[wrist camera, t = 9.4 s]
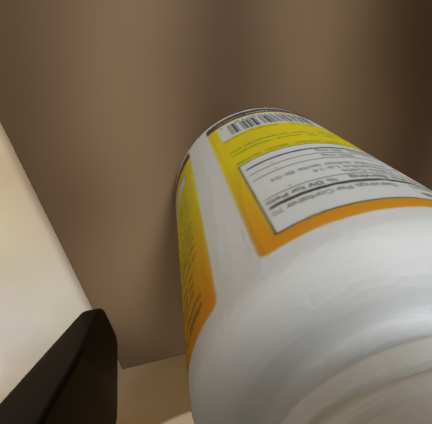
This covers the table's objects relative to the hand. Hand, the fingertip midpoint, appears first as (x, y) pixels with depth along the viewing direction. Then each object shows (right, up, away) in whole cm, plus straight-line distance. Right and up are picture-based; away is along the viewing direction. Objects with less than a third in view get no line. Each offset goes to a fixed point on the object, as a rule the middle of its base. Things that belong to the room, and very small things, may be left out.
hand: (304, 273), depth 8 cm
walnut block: (-1, +3, +6) cm, 7 cm away
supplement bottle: (-1, +2, +5) cm, 5 cm away
